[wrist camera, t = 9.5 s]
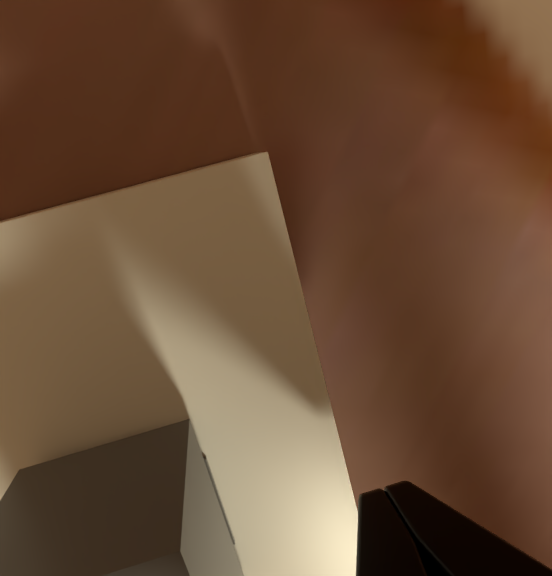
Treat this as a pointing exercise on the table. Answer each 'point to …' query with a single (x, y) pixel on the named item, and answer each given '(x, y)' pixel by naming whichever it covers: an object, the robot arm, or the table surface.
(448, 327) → the table surface
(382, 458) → the table surface
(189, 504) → the dark grey block
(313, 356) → the switch board
